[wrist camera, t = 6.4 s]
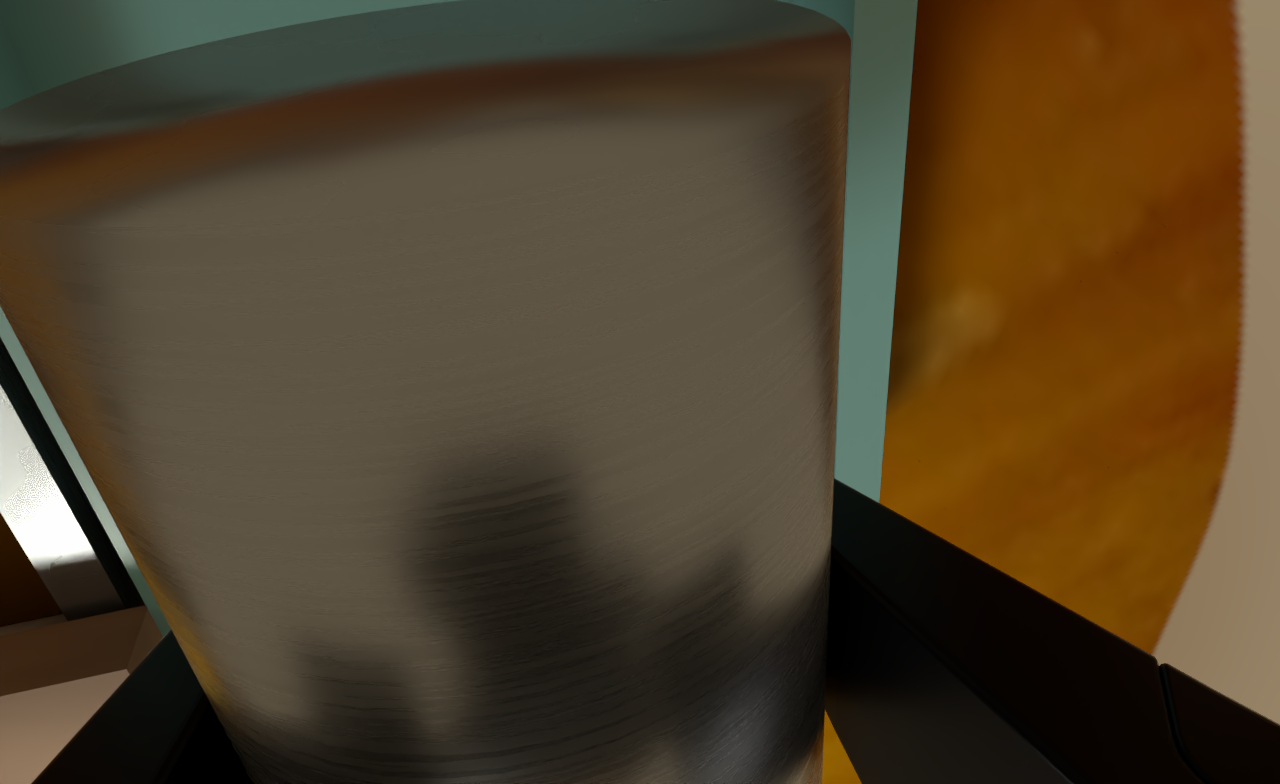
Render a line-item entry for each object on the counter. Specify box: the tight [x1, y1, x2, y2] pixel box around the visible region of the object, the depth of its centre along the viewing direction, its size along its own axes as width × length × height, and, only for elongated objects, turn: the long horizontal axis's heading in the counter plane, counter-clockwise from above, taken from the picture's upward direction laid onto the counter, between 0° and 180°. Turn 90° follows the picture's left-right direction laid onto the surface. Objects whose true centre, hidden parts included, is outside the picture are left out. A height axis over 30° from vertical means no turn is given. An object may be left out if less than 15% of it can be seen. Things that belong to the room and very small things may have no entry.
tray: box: [0, 0, 918, 637], centre depth 15 cm, size 15×14×2 cm
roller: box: [0, 0, 851, 784], centre depth 7 cm, size 9×4×4 cm, turn 5°
